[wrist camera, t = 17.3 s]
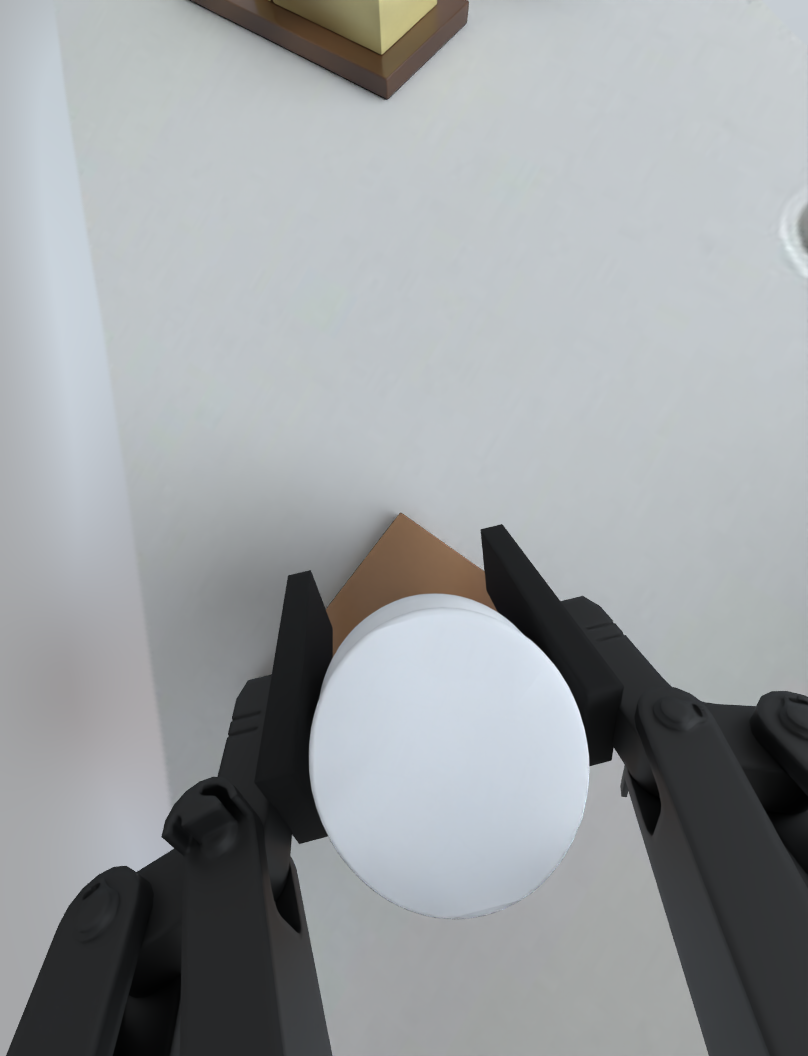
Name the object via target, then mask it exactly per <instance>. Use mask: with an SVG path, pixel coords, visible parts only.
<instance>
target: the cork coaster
mask: <svg viewBox="0 0 808 1056" xmlns="http://www.w3.org/2000/svg"><path fill="white" fill-rule="evenodd" d="M420 594H449V595H456V596H461V597H464V598H468V599H471V600H474V601H476V602H479V603H481V604H483V605H486V606H488V607H489V608H491V609H493V610H495V611H496V612H497V610H496V608H495V606H494V604H493V602H492V600H491V598H490V596H489V595H488V593H487V591H486V581H485V572H484V571H483V570H482V569H480V568H479V567H477V566H476V565H475V564H473V563H472V562H470V561H469V560H467V559H466V558H465V557H463V556H462V555H460V554H459V553H458V552H456V551H455V550H453V549H452V548H450V547H449V546H448V545H446V544H445V543H443V542H442V541H441V540H439V539H438V538H436V537H435V536H433V535H432V534H431V533H429V532H428V531H426V530H425V529H424V528H422V527H421V526H419V525H418V524H416V523H415V522H414V521H412V520H411V519H409V518H408V517H407V516H405V515H404V514H402V513H399V515H398V516H397V517H396V519H395V520H394V521H393V523H392V524H391V525H390V526H389V528H388V529H387V530H386V532H385V533H384V534H383V536H382V537H381V538H380V540H379V541H378V542H377V543H376V545H375V546H374V547H373V549H372V550H371V551H370V553H369V554H368V555H367V556H366V558H365V559H364V560H363V562H362V563H361V564H360V566H359V567H358V568H357V569H356V571H355V572H354V573H353V575H352V576H351V577H350V579H349V580H348V581H347V582H346V584H345V585H344V586H343V588H342V589H341V590H340V592H339V593H338V594H337V595H336V597H335V598H334V599H333V601H332V602H331V603H330V605H329V606H328V607H327V608H326V612H327V614H328V617H329V620H330V622H331V625H332V628H333V656H334V655H335V653H336V651H337V650H338V648H339V646H340V645H341V644H342V642H343V641H344V640H345V638H346V637H347V636H348V635H349V633H350V632H351V631H352V630H353V629H354V628H355V627H356V626H357V625H358V624H359V623H360V622H362V621H363V620H364V619H365V618H366V617H368V616H369V615H370V614H372V613H373V612H375V611H377V610H378V609H380V608H382V607H383V606H385V605H387V604H390V603H392V602H394V601H397V600H399V599H402V598H406V597H409V596H414V595H420Z"/></svg>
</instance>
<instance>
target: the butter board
mask: <svg viewBox="0 0 808 1056" xmlns="http://www.w3.org/2000/svg"><path fill="white" fill-rule="evenodd" d="M191 1H193V2H195V3H197V4H199V5H201V6H203V7H205V8H207V9H209V10H211V11H213V12H215V13H217V14H219V15H221V16H223V17H225V18H227V19H229V20H231V21H233V22H235V23H237V24H239V25H241V26H243V27H245V28H247V29H249V30H251V31H253V32H255V33H257V34H258V35H260V36H262V37H264V38H266V39H268V40H270V41H272V42H274V43H276V44H278V45H280V46H282V47H284V48H286V49H288V50H290V51H292V52H294V53H296V54H298V55H300V56H302V57H304V58H306V59H308V60H310V61H312V62H314V63H316V64H318V65H320V66H322V67H324V68H326V69H328V70H330V71H332V72H334V73H336V74H338V75H340V76H342V77H344V78H346V79H348V80H350V81H352V82H354V83H356V84H358V85H360V86H362V87H364V88H366V89H368V90H370V91H372V92H374V93H376V94H378V95H380V96H382V97H384V98H386V99H388V98H389V97H390V96H391V95H393V94H394V93H395V92H396V91H397V90H398V89H399V88H400V87H401V86H402V85H403V84H404V83H405V82H406V81H407V80H408V79H409V78H410V77H411V76H412V75H413V74H414V73H415V72H416V71H417V70H418V69H419V68H421V67H422V66H423V65H424V64H425V63H426V62H427V61H428V60H429V59H430V58H431V57H432V56H433V55H434V54H435V53H436V52H437V51H438V50H439V49H440V48H441V47H442V46H443V45H444V44H445V43H446V42H447V41H449V40H450V39H451V38H452V37H453V36H454V35H455V34H456V33H457V32H458V31H459V30H460V29H461V28H462V27H463V26H464V25H465V24H466V23H467V17H468V7H469V1H467V0H271V1H268V0H191Z"/></svg>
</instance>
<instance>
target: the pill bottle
mask: <svg viewBox="0 0 808 1056" xmlns="http://www.w3.org/2000/svg"><path fill="white" fill-rule="evenodd" d="M309 774H310V782H311V789H312V793H313V797H314V801H315V805H316V808H317V811H318V814H319V816H320V819H321V822H322V824H323V826H324V828H325V830H326V833H327V835H328V837H329V838H330V840H331V842H332V844H333V846H334V848H335V849H336V851H337V852H338V853H339V855H340V856H341V858H342V859H343V860H344V862H345V863H346V864H347V865H348V866H349V868H350V869H351V870H352V871H353V872H354V873H355V874H356V875H357V876H358V877H359V878H360V879H361V880H362V881H363V882H364V883H365V884H366V885H368V886H369V887H370V888H371V889H372V890H373V891H375V892H376V893H378V894H379V895H381V896H382V897H384V898H385V899H387V900H388V901H390V902H392V903H394V904H396V905H398V906H400V907H402V908H404V909H406V910H409V911H412V912H415V913H418V914H422V915H426V916H430V917H434V918H444V919H468V918H474V917H480V916H485V915H488V914H492V913H495V912H497V911H500V910H502V909H505V908H507V907H509V906H511V905H513V904H515V903H517V902H519V901H520V900H522V899H523V898H525V897H526V896H528V895H529V894H531V893H532V892H533V891H534V890H536V889H537V888H538V887H539V886H540V885H541V884H542V883H544V881H545V880H546V879H547V878H548V877H549V876H550V875H551V873H552V872H553V871H554V870H555V869H556V867H557V866H558V865H559V863H560V862H561V861H562V859H563V858H564V856H565V855H566V853H567V851H568V849H569V848H570V846H571V844H572V841H573V839H574V837H575V835H576V832H577V830H578V828H579V826H580V823H581V821H582V819H583V814H584V809H585V804H586V799H587V794H588V784H589V753H588V745H587V739H586V734H585V729H584V726H583V722H582V719H581V715H580V712H579V709H578V707H577V704H576V702H575V699H574V697H573V695H572V693H571V691H570V689H569V687H568V685H567V683H566V682H565V680H564V678H563V677H562V675H561V674H560V672H559V670H558V669H557V668H556V667H555V665H554V664H553V663H552V662H551V660H550V659H549V658H548V657H547V656H546V655H545V653H544V652H543V651H542V650H541V649H540V648H539V647H538V646H537V645H536V644H534V643H533V642H532V641H531V640H530V639H528V638H527V637H526V636H524V635H523V634H522V632H521V631H520V630H519V629H518V628H517V627H516V626H515V625H513V624H512V623H511V622H510V621H509V620H508V619H506V618H505V617H504V616H502V615H501V614H499V613H498V612H496V611H495V610H493V609H491V608H489V607H488V606H486V605H483V604H481V603H479V602H476V601H474V600H471V599H468V598H464V597H461V596H456V595H449V594H420V595H414V596H409V597H406V598H402V599H399V600H397V601H394V602H392V603H390V604H387V605H385V606H383V607H382V608H380V609H378V610H377V611H375V612H373V613H372V614H370V615H369V616H368V617H366V618H365V619H364V620H363V621H362V622H360V623H359V624H358V625H357V626H356V627H355V628H354V629H353V630H352V631H351V632H350V633H349V635H348V636H347V637H346V638H345V640H344V641H343V642H342V644H341V645H340V646H339V648H338V650H337V651H336V653H335V655H334V656H333V658H332V660H331V663H330V665H329V667H328V669H327V672H326V674H325V677H324V680H323V684H322V687H321V692H320V696H319V701H318V703H317V706H316V710H315V713H314V717H313V722H312V726H311V733H310V742H309Z"/></svg>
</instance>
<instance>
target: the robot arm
mask: <svg viewBox="0 0 808 1056" xmlns="http://www.w3.org/2000/svg"><path fill="white" fill-rule="evenodd" d="M481 538H482V549H483V560H484V570H485V581H486V591H487V593H488V595H489V596H490V598H491V600H492V602H493V604H494V606H495V608H496V610H497V612H498V613H499V614H501V615H502V616H504V617H505V618H506V619H508V620H509V621H510V622H511V623H512V624H513V625H515V626H516V627H517V628H518V629H519V630H520V631H521V632H522V634H523V635H524V636H526V637H527V638H528V639H530V640H531V641H532V642H533V643H534V644H536V645H537V646H538V647H539V648H540V649H541V650H542V651H543V652H544V653H545V655H546V656H547V657H548V658H549V659H550V660H551V662H552V663H553V664H554V665H555V667H556V668H557V669H558V670H559V672H560V674H561V675H562V677H563V678H564V680H565V682H566V683H567V685H568V687H569V689H570V691H571V693H572V695H573V697H574V699H575V702H576V704H577V707H578V709H579V712H580V715H581V719H582V722H583V726H584V729H585V734H586V739H587V745H588V753H589V766H592V765H596V764H600V763H604V762H607V761H611V760H612V754H613V748H615V750H616V751H617V753H618V754H619V756H620V758H621V759H622V761H623V762H624V764H625V766H624V771H623V776H622V781H621V797H627V794H628V791H629V794H630V797H631V801H632V804H633V807H634V810H635V814H636V817H637V820H638V824H639V827H640V830H641V833H642V837H643V840H644V843H645V847H646V850H647V853H648V856H649V860H650V863H651V866H652V870H653V873H654V876H655V879H656V883H657V886H658V889H659V893H660V896H661V899H662V902H663V906H664V909H665V912H666V916H667V919H668V922H669V925H670V929H671V932H672V935H673V939H674V942H675V945H676V948H677V952H678V955H679V958H680V962H681V965H682V968H683V972H684V975H685V978H686V981H687V985H688V988H689V991H690V995H691V998H692V1001H693V1004H694V1008H695V1011H696V1014H697V1018H698V1021H699V1024H700V1027H701V1031H702V1034H703V1037H704V1041H705V1044H706V1047H707V1050H708V1054H709V1056H808V697H807V696H804V695H801V694H797V693H792V692H788V691H772V692H769V693H767V694H765V695H763V696H761V698H760V700H759V702H758V704H757V706H740V705H723V704H712V703H705V702H702V701H700V700H698V699H697V698H696V697H694V696H693V695H692V694H690V693H687V692H685V691H683V690H680V689H678V688H674V687H671V686H670V685H669V684H668V683H667V682H666V681H665V680H664V679H663V678H662V677H661V675H660V674H659V673H658V672H657V671H656V670H655V669H654V667H653V666H652V665H651V664H650V663H649V662H648V661H647V659H646V658H645V657H644V656H643V655H642V654H641V652H640V651H639V650H638V649H637V648H636V647H635V646H634V644H633V643H632V642H631V641H630V640H629V639H628V638H627V636H626V635H623V632H622V631H621V630H620V628H619V627H618V626H617V625H616V624H615V623H613V620H612V619H611V618H610V617H609V616H608V615H607V613H606V612H605V611H604V610H603V609H602V608H601V607H600V606H599V605H597V604H595V603H594V602H592V601H590V600H589V599H587V598H585V597H584V596H580V597H576V598H572V599H568V600H564V601H560V600H559V599H558V598H557V596H556V595H555V594H554V592H553V591H552V590H551V588H550V587H549V586H548V584H547V583H546V582H545V580H544V579H543V578H542V576H541V575H540V574H539V572H538V571H537V570H536V568H535V567H534V566H533V564H532V563H531V562H530V560H529V559H528V558H527V556H526V555H525V554H524V553H523V551H522V550H521V549H520V547H519V546H518V545H517V543H516V542H515V541H514V539H513V538H512V537H511V535H510V534H509V533H508V531H507V530H506V529H505V527H504V526H503V525H502V524H501V525H497V526H493V527H489V528H485V529H481ZM332 658H333V628H332V625H331V622H330V620H329V617H328V614H327V612H326V609H325V607H324V604H323V601H322V599H321V596H320V593H319V591H318V588H317V586H316V583H315V580H314V578H313V575H312V572H311V570H309V571H305V572H301V573H297V574H293V575H289V576H288V580H287V586H286V592H285V598H284V604H283V610H282V616H281V622H280V628H279V634H278V640H277V647H276V653H275V659H274V665H273V671H272V675H268V676H264V677H260V678H256V679H252V680H248V681H247V683H246V685H245V686H244V688H243V689H242V691H241V693H240V694H239V696H238V697H237V699H236V703H235V707H234V712H233V716H232V722H231V724H230V728H229V732H228V735H229V737H228V738H227V740H226V744H225V749H224V753H223V757H222V761H221V765H220V769H219V773H218V777H211V778H208V779H206V780H203V781H200V782H198V783H197V784H196V785H194V786H193V787H191V788H190V789H189V790H187V791H186V792H185V793H184V794H183V795H182V796H181V798H180V799H179V800H178V801H177V802H176V803H175V804H174V806H173V808H172V810H171V811H170V813H169V815H168V817H167V819H166V820H165V824H164V829H163V833H162V838H163V839H165V840H166V841H167V842H168V843H169V844H170V845H171V846H172V847H174V849H173V850H171V851H170V852H168V853H167V854H165V855H163V856H162V857H160V858H159V859H157V860H156V861H154V862H152V863H150V864H149V865H147V866H146V867H144V868H142V869H141V870H140V871H138V872H135V871H134V870H132V869H130V868H129V867H127V866H119V867H113V868H111V869H109V870H107V871H105V872H103V873H101V874H99V875H98V876H97V877H95V878H94V879H93V880H92V881H91V882H90V883H88V884H87V885H86V886H85V887H84V888H83V889H82V890H81V891H80V893H79V894H78V895H77V896H76V898H75V899H74V900H73V901H72V903H71V904H70V905H69V907H68V909H67V910H66V912H65V914H64V916H63V918H62V920H61V922H60V924H59V926H58V928H57V930H56V933H55V935H54V938H53V941H52V943H51V945H50V948H49V950H48V953H47V955H46V958H45V960H44V963H43V965H42V968H41V970H40V973H39V975H38V978H37V980H36V983H35V985H34V988H33V990H32V993H31V995H30V998H29V1000H28V1003H27V1005H26V1008H25V1010H24V1013H23V1015H22V1018H21V1020H20V1022H19V1025H18V1027H17V1030H16V1033H15V1035H14V1037H13V1040H12V1042H11V1045H10V1048H9V1050H8V1052H7V1055H6V1056H332V1052H331V1046H330V1041H329V1036H328V1031H327V1026H326V1020H325V1015H324V1010H323V1005H322V1000H321V995H320V989H319V984H318V979H317V974H316V969H315V963H314V958H313V953H312V948H311V943H310V937H309V932H308V927H307V922H306V917H305V912H304V906H303V901H302V896H301V891H300V886H299V880H298V875H297V870H296V867H295V864H294V862H293V860H292V858H291V856H290V851H291V839H292V835H293V836H294V837H295V839H296V840H297V841H298V843H299V844H301V843H305V842H308V841H312V840H316V839H320V838H323V837H327V836H328V835H327V833H326V830H325V828H324V826H323V824H322V822H321V819H320V816H319V814H318V811H317V808H316V805H315V801H314V797H313V793H312V789H311V782H310V774H309V742H310V733H311V726H312V722H313V717H314V713H315V710H316V706H317V703H318V701H319V696H320V692H321V687H322V684H323V680H324V677H325V674H326V672H327V669H328V667H329V665H330V663H331V660H332Z"/></svg>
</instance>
